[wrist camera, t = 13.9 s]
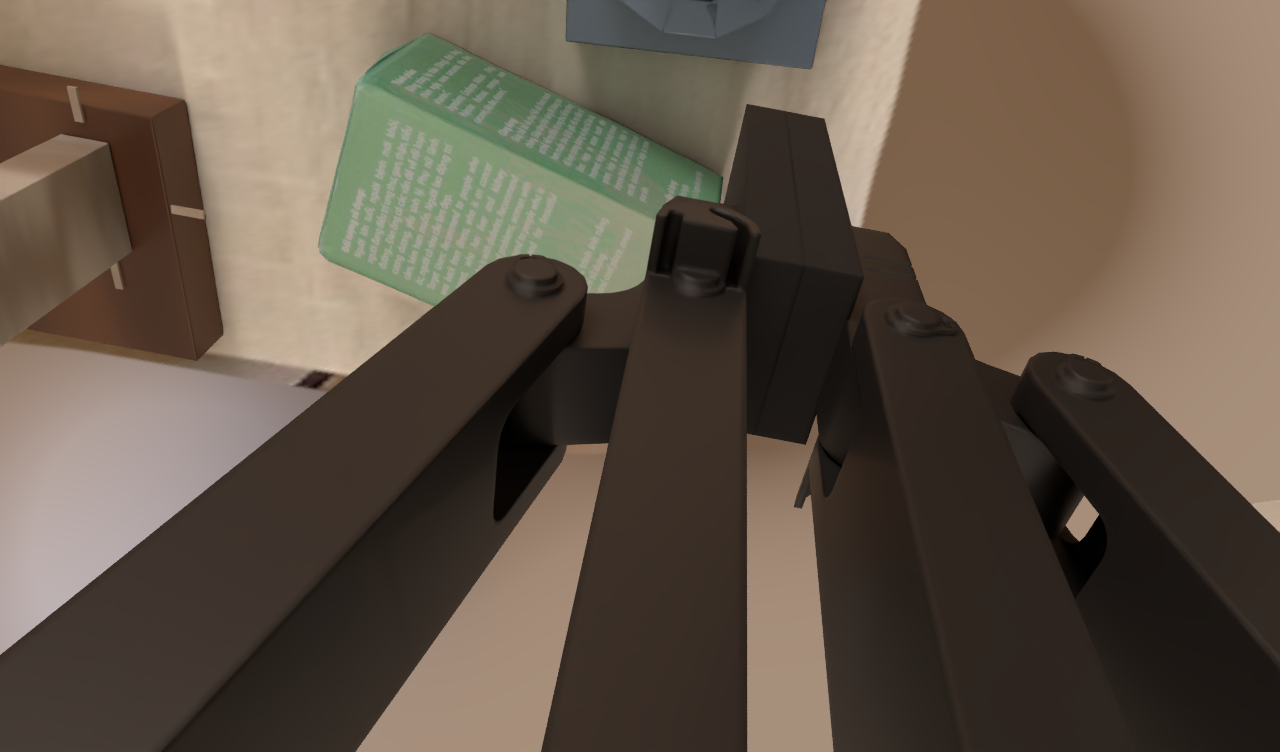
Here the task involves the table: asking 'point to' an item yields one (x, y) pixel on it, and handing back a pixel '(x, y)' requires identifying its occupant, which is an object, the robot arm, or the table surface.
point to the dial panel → (128, 212)
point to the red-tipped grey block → (56, 227)
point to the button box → (703, 28)
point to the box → (491, 178)
